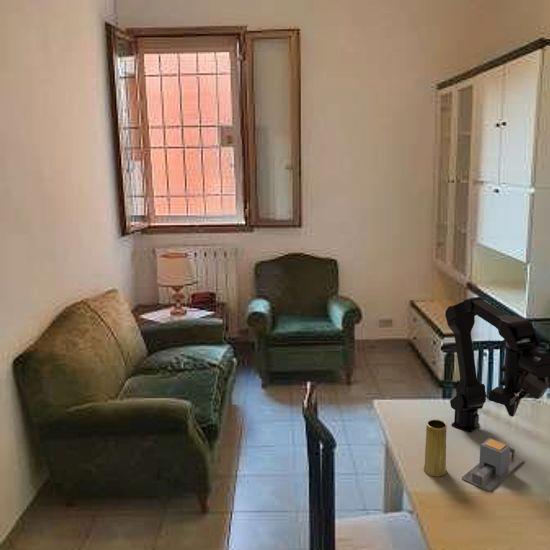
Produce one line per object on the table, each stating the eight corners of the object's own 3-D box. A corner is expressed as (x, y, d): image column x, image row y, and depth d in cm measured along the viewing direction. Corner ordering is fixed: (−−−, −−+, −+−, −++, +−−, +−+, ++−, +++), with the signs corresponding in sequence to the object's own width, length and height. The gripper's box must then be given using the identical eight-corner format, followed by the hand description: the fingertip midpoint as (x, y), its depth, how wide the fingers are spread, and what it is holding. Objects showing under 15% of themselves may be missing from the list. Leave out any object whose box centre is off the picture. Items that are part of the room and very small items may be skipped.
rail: (461, 479, 152) (462, 470, 152) (497, 450, 166) (497, 442, 165) (489, 491, 147) (490, 483, 146) (524, 461, 160) (524, 452, 159)
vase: (446, 466, 159) (448, 420, 155) (445, 478, 153) (447, 430, 150) (424, 462, 161) (425, 417, 157) (422, 474, 155) (424, 427, 152)
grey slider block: (479, 467, 157) (480, 443, 155) (487, 460, 160) (489, 437, 158) (500, 476, 152) (501, 452, 151) (508, 468, 155) (510, 444, 154)
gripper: (529, 383, 143) (525, 438, 147) (559, 362, 156) (554, 413, 159) (488, 371, 151) (485, 424, 155) (519, 352, 164) (516, 401, 167)
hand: (511, 415), depth 159 cm, fingers closed
